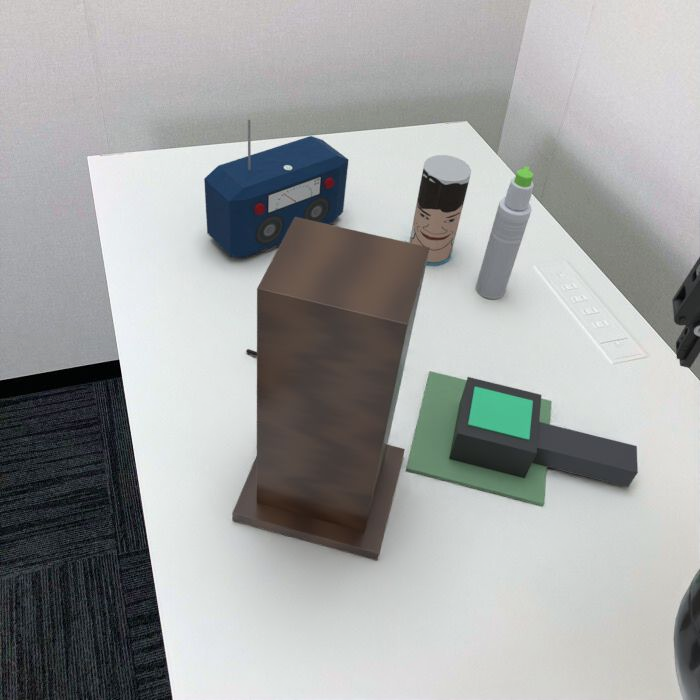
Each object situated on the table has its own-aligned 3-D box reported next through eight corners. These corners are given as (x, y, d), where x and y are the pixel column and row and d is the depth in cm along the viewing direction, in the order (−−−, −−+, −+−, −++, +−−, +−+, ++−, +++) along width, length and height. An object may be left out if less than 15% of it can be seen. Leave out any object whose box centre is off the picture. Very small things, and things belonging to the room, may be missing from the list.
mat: (550, 403, 95) (551, 400, 94) (543, 506, 84) (544, 504, 83) (429, 373, 96) (429, 370, 96) (405, 470, 85) (406, 468, 85)
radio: (236, 268, 107) (233, 146, 93) (204, 237, 112) (197, 116, 97) (347, 223, 117) (360, 107, 103) (314, 196, 122) (323, 81, 107)
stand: (403, 456, 87) (456, 238, 64) (377, 560, 77) (429, 348, 54) (273, 422, 88) (279, 199, 65) (232, 520, 79) (222, 298, 56)
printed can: (399, 252, 113) (414, 167, 103) (422, 233, 117) (439, 149, 107) (436, 271, 111) (455, 187, 100) (458, 251, 115) (479, 167, 104)
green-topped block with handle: (627, 444, 90) (643, 418, 87) (628, 505, 84) (646, 479, 80) (459, 403, 93) (468, 375, 89) (449, 459, 86) (457, 432, 83)
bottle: (509, 289, 110) (547, 173, 95) (496, 303, 107) (533, 186, 93) (484, 276, 111) (517, 160, 97) (470, 290, 109) (502, 173, 94)
